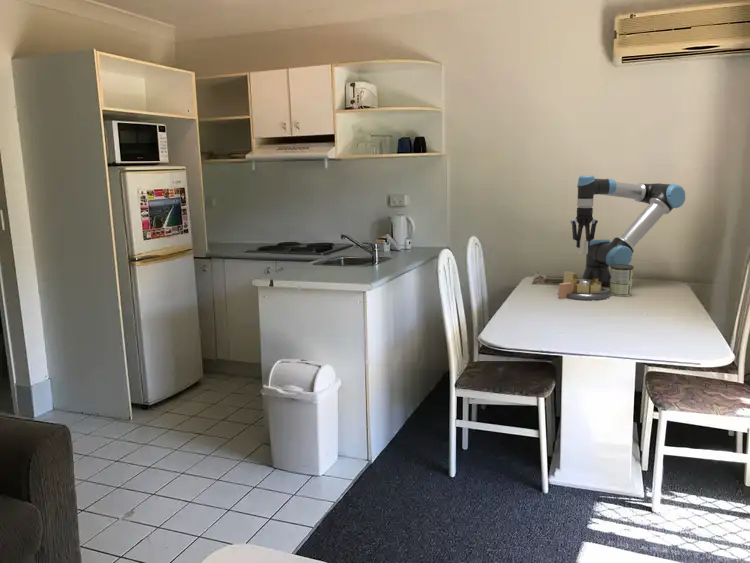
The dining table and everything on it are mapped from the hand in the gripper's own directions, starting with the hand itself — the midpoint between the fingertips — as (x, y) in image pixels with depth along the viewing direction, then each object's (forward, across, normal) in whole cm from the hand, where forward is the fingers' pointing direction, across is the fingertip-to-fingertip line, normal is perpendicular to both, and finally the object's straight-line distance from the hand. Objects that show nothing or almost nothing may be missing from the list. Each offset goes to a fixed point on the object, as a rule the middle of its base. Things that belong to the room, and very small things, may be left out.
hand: (582, 253), depth 313 cm
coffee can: (+19, -15, +13) cm, 27 cm away
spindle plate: (+19, +3, +12) cm, 22 cm away
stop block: (+19, +15, +15) cm, 28 cm away
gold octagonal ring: (+16, +4, +8) cm, 19 cm away
